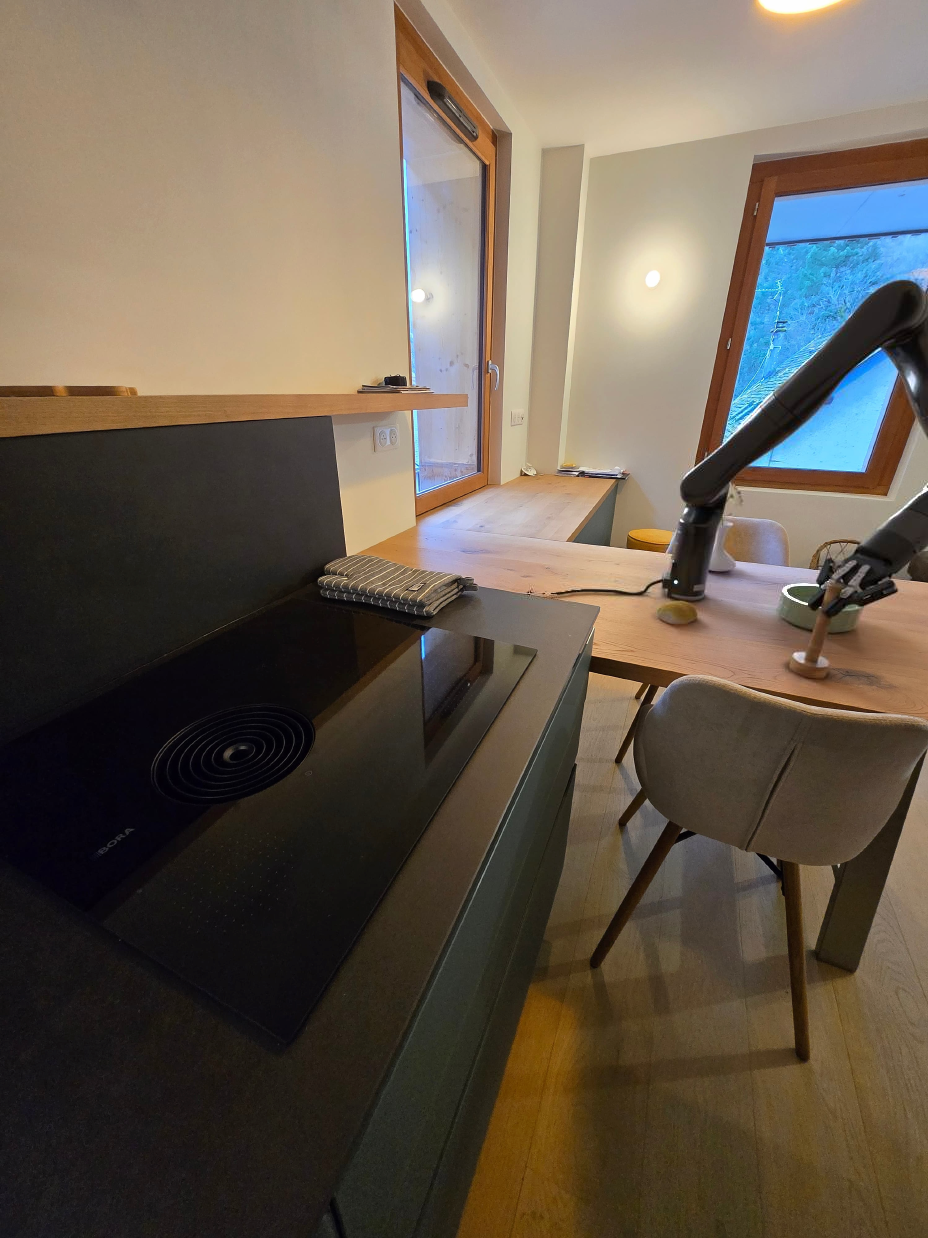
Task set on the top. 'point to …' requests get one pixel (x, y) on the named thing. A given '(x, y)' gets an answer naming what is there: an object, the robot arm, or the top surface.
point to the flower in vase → (719, 555)
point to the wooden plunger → (816, 641)
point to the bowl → (802, 616)
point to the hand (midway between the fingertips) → (818, 611)
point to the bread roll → (677, 612)
